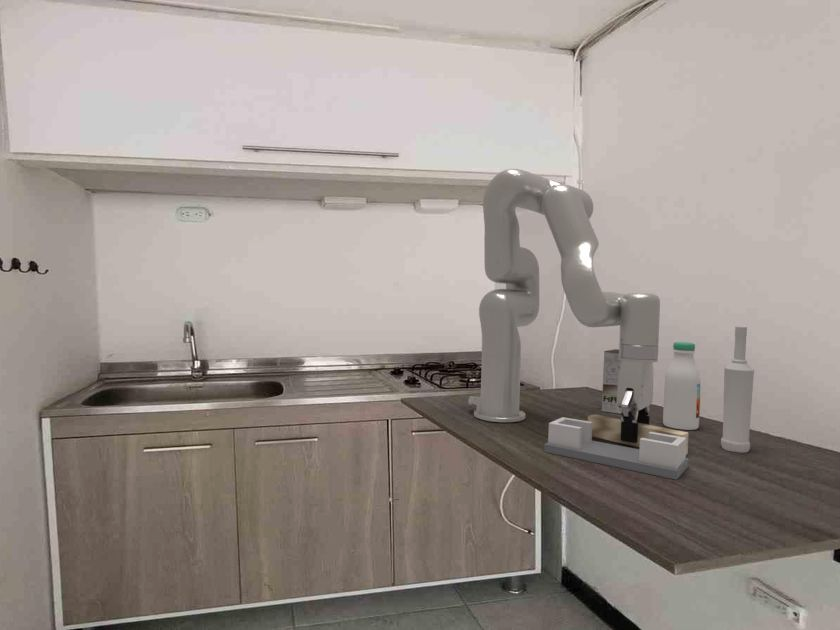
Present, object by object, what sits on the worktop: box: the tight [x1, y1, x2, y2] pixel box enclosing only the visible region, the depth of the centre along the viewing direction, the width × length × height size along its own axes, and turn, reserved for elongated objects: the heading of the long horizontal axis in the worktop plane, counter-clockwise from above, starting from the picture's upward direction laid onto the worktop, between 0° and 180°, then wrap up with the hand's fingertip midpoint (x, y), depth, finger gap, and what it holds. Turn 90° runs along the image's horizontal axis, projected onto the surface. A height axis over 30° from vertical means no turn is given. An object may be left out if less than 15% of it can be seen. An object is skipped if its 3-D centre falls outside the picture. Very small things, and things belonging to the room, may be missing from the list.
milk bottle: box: [662, 341, 701, 431], centre depth 129 cm, size 8×8×20 cm
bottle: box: [720, 326, 755, 454], centre depth 111 cm, size 5×5×25 cm
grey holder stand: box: [543, 416, 690, 481], centre depth 103 cm, size 24×9×6 cm, turn 53°
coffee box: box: [601, 348, 634, 415], centre depth 146 cm, size 9×6×16 cm
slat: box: [587, 414, 689, 455], centre depth 113 cm, size 20×3×4 cm, turn 44°
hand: (635, 437), depth 113 cm, fingers open, 7 cm apart
